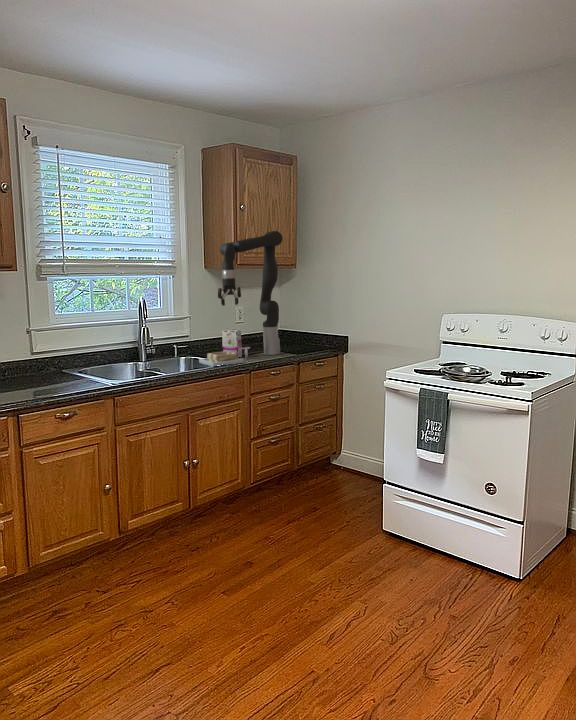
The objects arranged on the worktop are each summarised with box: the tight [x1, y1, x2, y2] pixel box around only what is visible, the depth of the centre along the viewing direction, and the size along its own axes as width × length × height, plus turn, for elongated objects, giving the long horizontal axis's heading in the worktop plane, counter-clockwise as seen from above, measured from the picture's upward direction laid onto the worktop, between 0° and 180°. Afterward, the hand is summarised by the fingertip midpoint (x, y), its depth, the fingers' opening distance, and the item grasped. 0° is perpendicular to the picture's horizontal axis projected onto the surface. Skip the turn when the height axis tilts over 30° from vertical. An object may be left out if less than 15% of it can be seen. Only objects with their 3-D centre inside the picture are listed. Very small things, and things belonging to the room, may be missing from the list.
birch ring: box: [206, 350, 238, 363], centre depth 349 cm, size 14×13×5 cm
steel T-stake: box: [242, 346, 251, 360], centre depth 361 cm, size 5×2×7 cm, turn 122°
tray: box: [198, 357, 245, 367], centre depth 349 cm, size 19×19×2 cm
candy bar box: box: [221, 329, 243, 358], centre depth 369 cm, size 11×5×16 cm, turn 62°
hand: (230, 305), depth 360 cm, fingers open, 8 cm apart
